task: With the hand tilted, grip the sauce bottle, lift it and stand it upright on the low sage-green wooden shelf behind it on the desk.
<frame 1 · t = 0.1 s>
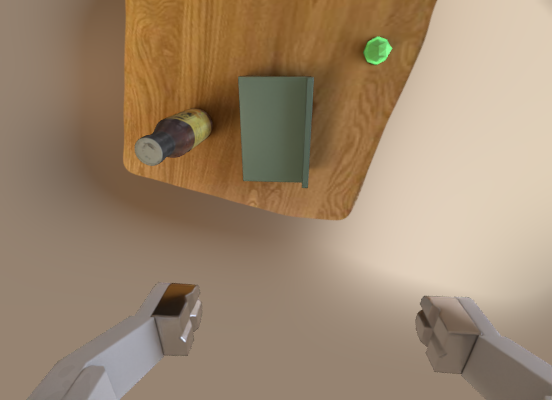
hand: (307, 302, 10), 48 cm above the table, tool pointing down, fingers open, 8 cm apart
shelf: (277, 126, 55), on the table
game piece: (375, 51, 49), on the table
sauce bottle: (198, 123, 56), on the table
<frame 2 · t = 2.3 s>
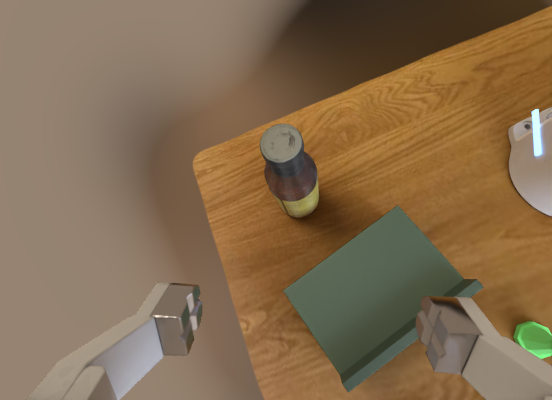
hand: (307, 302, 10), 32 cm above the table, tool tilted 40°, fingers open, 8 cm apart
shelf: (363, 286, 40), on the table
game piece: (530, 338, 36), on the table
sauce bottle: (297, 200, 45), on the table
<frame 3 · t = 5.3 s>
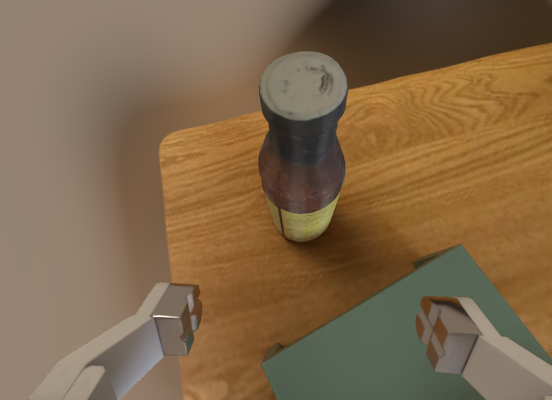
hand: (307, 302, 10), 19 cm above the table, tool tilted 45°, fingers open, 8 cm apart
shelf: (384, 361, 26), on the table
sauce bottle: (299, 216, 31), on the table
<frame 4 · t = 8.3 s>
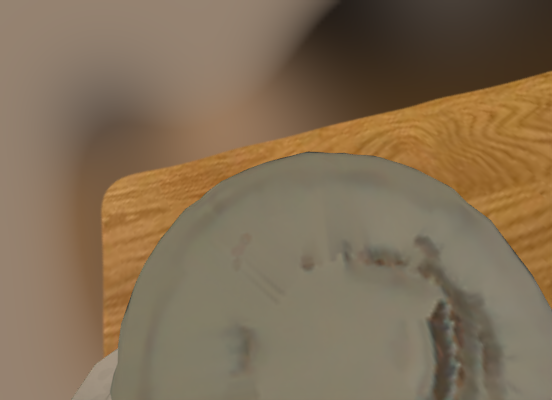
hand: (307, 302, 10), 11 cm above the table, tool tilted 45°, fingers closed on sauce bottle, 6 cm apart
sauce bottle: (300, 311, 21), on the table, touching gripper
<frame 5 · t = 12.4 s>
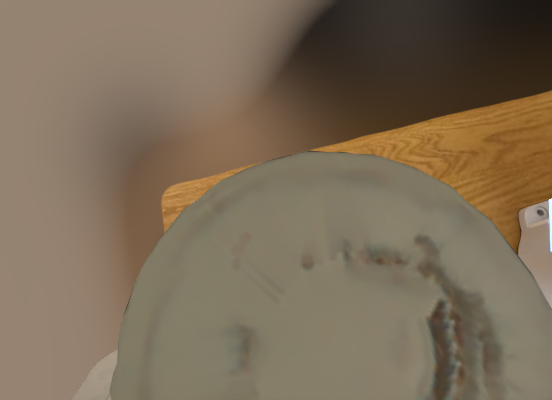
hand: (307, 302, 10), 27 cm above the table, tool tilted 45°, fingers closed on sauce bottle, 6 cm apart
sauce bottle: (299, 310, 21), point 16 cm above the table, touching gripper
when the fingers open (18 cm above the table, at t = 16.9 s): sauce bottle stays where it is, resting on shelf.
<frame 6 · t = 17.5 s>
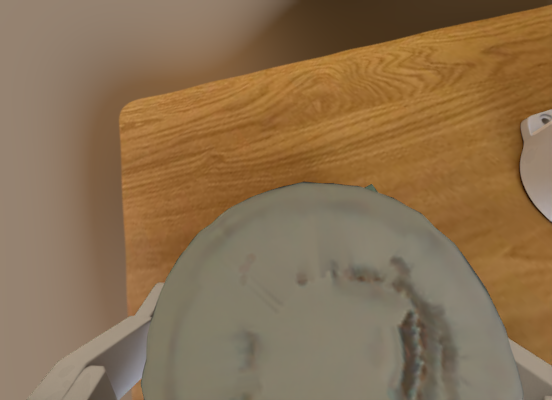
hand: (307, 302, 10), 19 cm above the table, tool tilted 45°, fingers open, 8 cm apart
sauce bottle: (299, 312, 22), point 7 cm above the table, touching shelf
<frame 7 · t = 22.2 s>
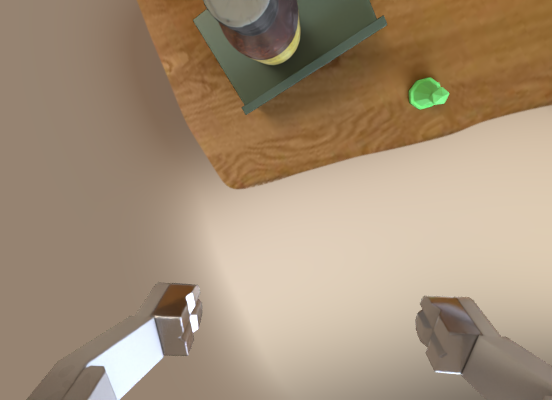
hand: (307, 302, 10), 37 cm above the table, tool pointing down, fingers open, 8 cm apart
shelf: (286, 32, 39), on the table
game piece: (422, 93, 41), on the table
sauce bottle: (272, 35, 33), point 7 cm above the table, touching shelf
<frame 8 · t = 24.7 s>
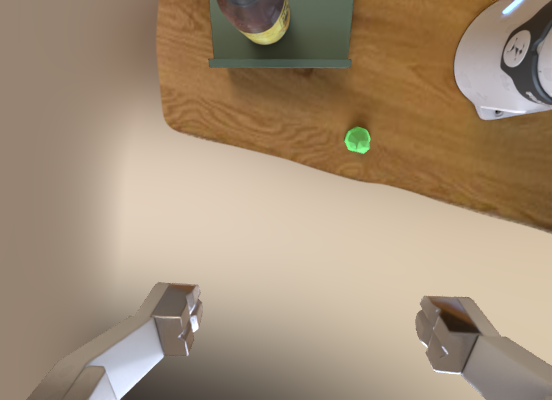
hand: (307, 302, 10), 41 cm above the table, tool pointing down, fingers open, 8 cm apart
shelf: (282, 23, 42), on the table
game piece: (356, 138, 48), on the table
sauce bottle: (265, 17, 36), point 7 cm above the table, touching shelf
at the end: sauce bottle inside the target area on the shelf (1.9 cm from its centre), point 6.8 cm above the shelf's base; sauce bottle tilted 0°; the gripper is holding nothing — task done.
